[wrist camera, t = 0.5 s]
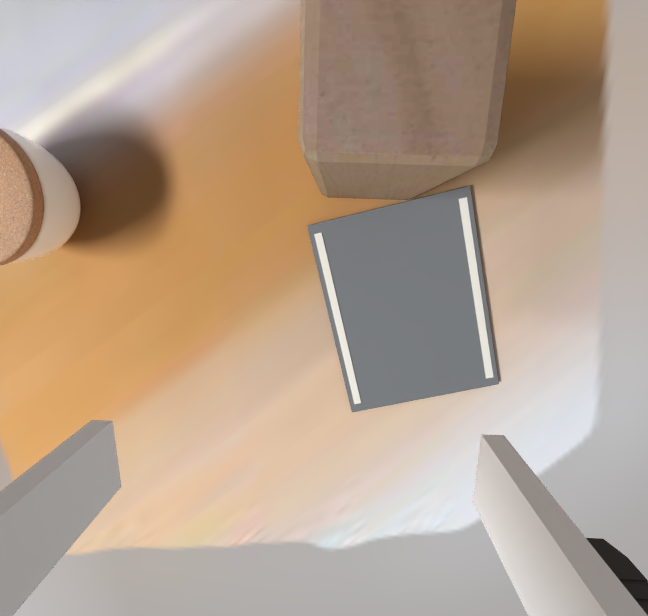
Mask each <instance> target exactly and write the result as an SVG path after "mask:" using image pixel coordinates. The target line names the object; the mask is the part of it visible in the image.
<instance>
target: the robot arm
mask: <svg viewBox="0 0 648 616" xmlns="http://www.w3.org/2000/svg"><path fill="white" fill-rule="evenodd" d="M120 487H121V480H120V473H119V465H118V458H117V451H116V443H115V436H114V428H113V421H101V420H91V421H90V422H89V423H88V424H86V425H85V426H84V427H82V428H81V429H80V430H79V431H77V432H76V433H75V434H73V435H72V436H71V437H70V438H68V439H67V440H66V441H64V442H63V443H62V444H61V445H59V446H58V447H57V448H55V449H54V450H53V451H52V452H50V453H49V454H48V455H46V456H45V457H44V458H43V459H41V460H40V461H39V462H37V463H36V464H35V465H34V466H32V467H31V468H30V469H28V470H27V471H26V472H25V473H23V474H22V475H21V476H19V477H18V478H17V479H16V480H14V481H13V482H12V483H10V484H9V485H8V486H7V487H5V488H4V489H3V490H1V491H0V616H13V615H14V613H15V612H16V611H17V610H18V609H19V608H20V606H21V605H22V604H23V603H24V602H25V600H26V599H27V598H28V597H29V596H30V595H31V593H32V592H33V591H34V590H35V589H36V587H37V586H38V585H39V584H40V583H41V581H42V580H43V579H44V578H45V577H46V575H47V574H48V573H49V572H50V571H51V569H52V568H53V567H54V566H55V565H56V564H57V562H58V561H59V560H60V559H61V558H62V556H63V555H64V554H65V553H66V552H67V551H68V549H69V548H70V547H71V546H72V545H73V543H74V542H75V541H76V540H77V539H78V537H79V536H80V535H81V534H82V533H83V531H84V530H85V529H86V528H87V527H88V526H89V524H90V523H91V522H92V521H93V520H94V518H95V517H96V516H97V515H98V514H99V512H100V511H101V510H102V509H103V508H104V506H105V505H106V504H107V503H108V502H109V501H110V499H111V498H112V497H113V496H114V495H115V493H116V492H117V491H118V490H119V489H120ZM473 504H474V506H475V508H476V510H477V512H478V514H479V516H480V518H481V520H482V522H483V524H484V526H485V528H486V530H487V532H488V534H489V536H490V538H491V540H492V542H493V544H494V547H495V549H496V550H497V553H498V555H499V557H500V559H501V561H502V563H503V565H504V567H505V569H506V571H507V573H508V575H509V577H510V579H511V581H512V583H513V585H514V587H515V589H516V591H517V594H518V596H519V598H520V600H521V602H522V604H523V606H524V608H525V610H526V612H527V613H528V616H648V581H647V579H646V578H645V577H644V576H643V575H642V574H641V572H640V571H639V570H638V569H637V568H636V567H635V566H634V564H633V563H632V562H631V561H630V560H629V559H628V558H627V557H626V556H625V555H623V554H622V553H621V552H620V551H618V550H617V549H616V548H614V547H613V546H612V545H610V544H609V543H608V542H607V541H605V540H604V539H595V538H585V537H584V535H583V534H582V533H581V531H580V530H579V529H578V528H577V526H576V525H575V524H574V523H573V521H572V520H571V519H570V518H569V516H568V515H567V514H566V513H565V511H564V510H563V509H562V508H561V506H560V505H559V504H558V503H557V501H556V500H555V499H554V498H553V496H552V495H551V494H550V492H549V491H548V490H547V489H546V488H545V486H544V485H543V484H542V483H541V481H540V480H539V479H538V477H537V476H536V475H535V474H534V472H533V471H532V470H531V469H530V467H529V466H528V465H527V464H526V462H525V461H524V460H523V459H522V457H521V456H520V455H519V454H518V452H517V451H516V450H515V449H514V447H513V446H512V445H511V444H510V442H509V441H508V440H507V439H506V437H505V436H504V435H481V443H480V450H479V458H478V465H477V473H476V480H475V488H474V495H473Z"/></svg>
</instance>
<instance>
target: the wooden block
mask: <svg viewBox="0 0 648 616" xmlns="http://www.w3.org/2000/svg"><path fill="white" fill-rule="evenodd" d="M515 7H516V0H301V25H300V76H299V127H298V141H299V144H300V146H301V149H302V152H303V155H304V157H305V159H306V161H307V164H308V166H309V168H310V170H311V172H312V174H313V177H314V179H315V181H316V183H317V185H318V187H319V190H320V192H321V194H322V195H325V196H327V197H334V198H363V199H393V200H408V199H411V198H414V197H416V196H418V195H420V194H422V193H424V192H426V191H428V190H430V189H432V188H434V187H436V186H438V185H440V184H442V183H445V182H447V181H449V180H451V179H453V178H455V177H457V176H459V175H461V174H463V173H465V172H467V171H469V170H471V169H473V168H475V167H477V166H479V165H481V164H483V163H485V162H488V161H489V160H490V158H491V156H492V154H493V153H494V151H495V149H496V147H497V143H498V135H499V128H500V120H501V112H502V105H503V97H504V90H505V82H506V75H507V67H508V60H509V52H510V44H511V37H512V29H513V22H514V14H515Z"/></svg>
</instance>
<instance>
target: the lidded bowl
mask: <svg viewBox="0 0 648 616" xmlns="http://www.w3.org/2000/svg"><path fill="white" fill-rule="evenodd" d="M80 212H81V203H80V197H79V193H78V190H77V187H76V185H75V183H74V181H73V179H72V177H71V176H70V174H69V173H68V171H67V170H66V168H65V167H64V166H63V165H62V164H61V162H60V161H59V160H57V159H56V158H55V157H54V156H53V155H52V154H51V153H49V152H48V151H47V150H46V149H44V148H43V147H41V146H40V145H38V144H36V143H35V142H33V141H31V140H30V139H28V138H26V137H23V136H21V135H19V134H17V133H15V132H13V131H11V130H8V129H5V128H3V127H0V265H4V264H11V263H18V262H23V261H28V260H32V259H36V258H39V257H41V256H44V255H47V254H49V253H51V252H53V251H55V250H56V249H58V248H59V247H61V246H62V245H63V244H65V243H66V242H67V241H68V240H69V238H70V237H71V236H72V234H73V233H74V231H75V229H76V227H77V225H78V222H79V219H80Z"/></svg>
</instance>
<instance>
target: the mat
mask: <svg viewBox="0 0 648 616" xmlns="http://www.w3.org/2000/svg"><path fill="white" fill-rule="evenodd" d="M308 230H309V235H310V239H311V243H312V247H313V251H314V256H315V260H316V264H317V268H318V272H319V276H320V281H321V285H322V289H323V293H324V297H325V301H326V306H327V310H328V314H329V318H330V322H331V327H332V331H333V335H334V339H335V343H336V347H337V352H338V356H339V360H340V364H341V368H342V372H343V377H344V381H345V385H346V389H347V393H348V397H349V402H350V406H351V410H352V412H356V411H361V410H367V409H372V408H377V407H382V406H387V405H393V404H398V403H403V402H408V401H413V400H418V399H424V398H429V397H434V396H439V395H444V394H450V393H455V392H460V391H465V390H470V389H476V388H481V387H486V386H491V385H496V384H499V382H498V375H497V369H496V362H495V355H494V348H493V341H492V334H491V327H490V320H489V313H488V306H487V300H486V293H485V286H484V279H483V272H482V265H481V258H480V251H479V244H478V238H477V231H476V224H475V217H474V210H473V203H472V196H471V189H470V186H468V187H464V188H460V189H456V190H451V191H447V192H443V193H439V194H435V195H431V196H427V197H423V198H419V199H415V200H411V201H407V202H403V203H399V204H394V205H390V206H386V207H382V208H378V209H374V210H370V211H366V212H362V213H358V214H354V215H350V216H346V217H342V218H337V219H333V220H329V221H325V222H321V223H317V224H313V225H309V226H308Z"/></svg>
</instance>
